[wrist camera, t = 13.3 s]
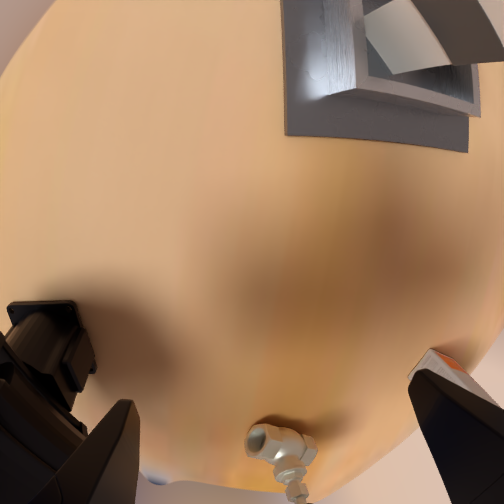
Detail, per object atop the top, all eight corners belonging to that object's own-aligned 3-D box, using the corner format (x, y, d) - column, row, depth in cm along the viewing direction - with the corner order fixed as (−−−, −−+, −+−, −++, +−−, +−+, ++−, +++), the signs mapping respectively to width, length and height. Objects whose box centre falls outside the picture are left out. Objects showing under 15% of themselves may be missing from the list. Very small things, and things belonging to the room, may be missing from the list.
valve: (274, 404, 26) (313, 516, 15) (320, 420, 28) (363, 512, 17) (231, 440, 27) (253, 543, 16) (279, 452, 29) (308, 541, 18)
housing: (284, 135, 18) (308, 135, 14) (275, -66, 12) (292, -96, 8) (463, 152, 20) (498, 158, 17) (447, -11, 15) (477, -21, 11)
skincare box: (452, 356, 29) (512, 418, 18) (430, 383, 30) (484, 448, 19) (429, 346, 28) (498, 418, 16) (405, 376, 28) (464, 453, 17)
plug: (393, 76, 17) (542, 60, 6) (352, 21, 15) (486, -42, 4) (427, 50, 16) (559, 33, 5) (391, -1, 15) (514, -49, 4)
